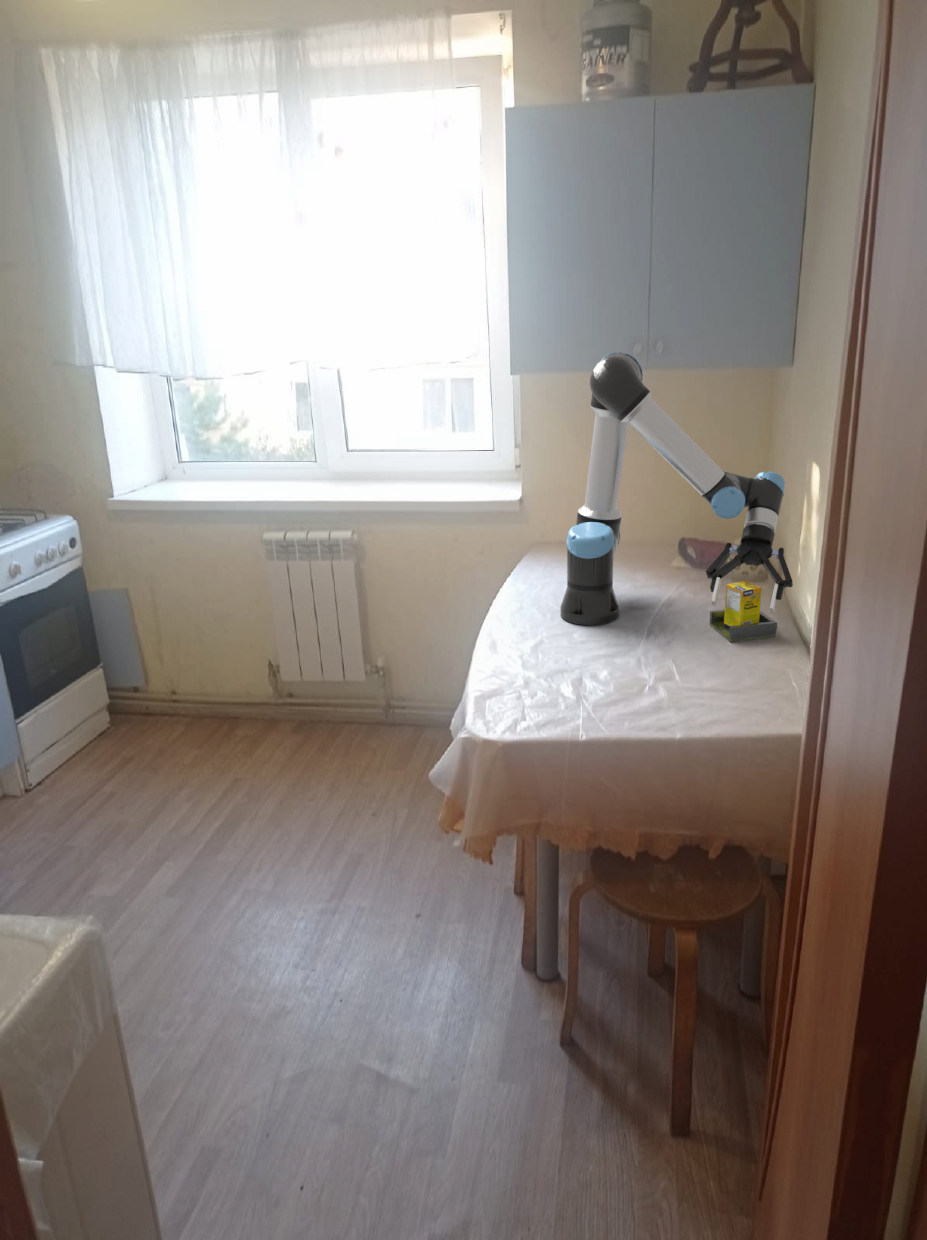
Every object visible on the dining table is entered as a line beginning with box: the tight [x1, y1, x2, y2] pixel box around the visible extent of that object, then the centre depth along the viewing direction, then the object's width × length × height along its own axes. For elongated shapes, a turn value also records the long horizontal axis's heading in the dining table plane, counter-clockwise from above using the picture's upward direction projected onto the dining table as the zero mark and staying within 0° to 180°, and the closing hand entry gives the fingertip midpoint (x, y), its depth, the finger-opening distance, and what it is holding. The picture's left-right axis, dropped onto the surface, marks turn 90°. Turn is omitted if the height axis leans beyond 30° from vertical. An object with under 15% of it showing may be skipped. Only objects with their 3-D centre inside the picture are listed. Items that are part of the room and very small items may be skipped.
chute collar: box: [708, 609, 778, 644], centre depth 214 cm, size 12×12×4 cm
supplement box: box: [724, 580, 763, 628], centre depth 213 cm, size 6×6×11 cm
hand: (742, 607), depth 211 cm, fingers open, 13 cm apart
